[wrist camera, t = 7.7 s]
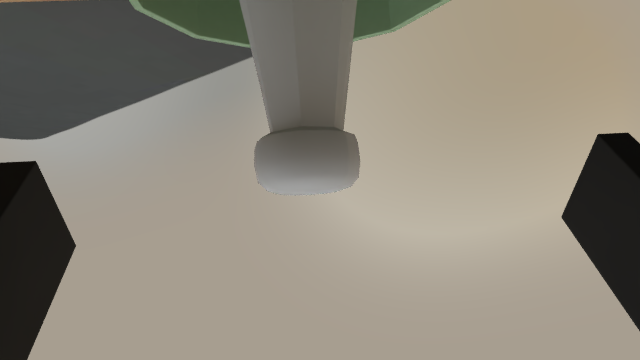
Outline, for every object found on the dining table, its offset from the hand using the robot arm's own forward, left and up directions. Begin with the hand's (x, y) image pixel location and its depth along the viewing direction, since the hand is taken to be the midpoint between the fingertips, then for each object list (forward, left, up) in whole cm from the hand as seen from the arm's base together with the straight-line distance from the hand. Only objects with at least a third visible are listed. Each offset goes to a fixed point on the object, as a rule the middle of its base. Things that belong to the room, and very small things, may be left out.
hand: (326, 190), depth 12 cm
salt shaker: (0, -8, -14) cm, 16 cm away
